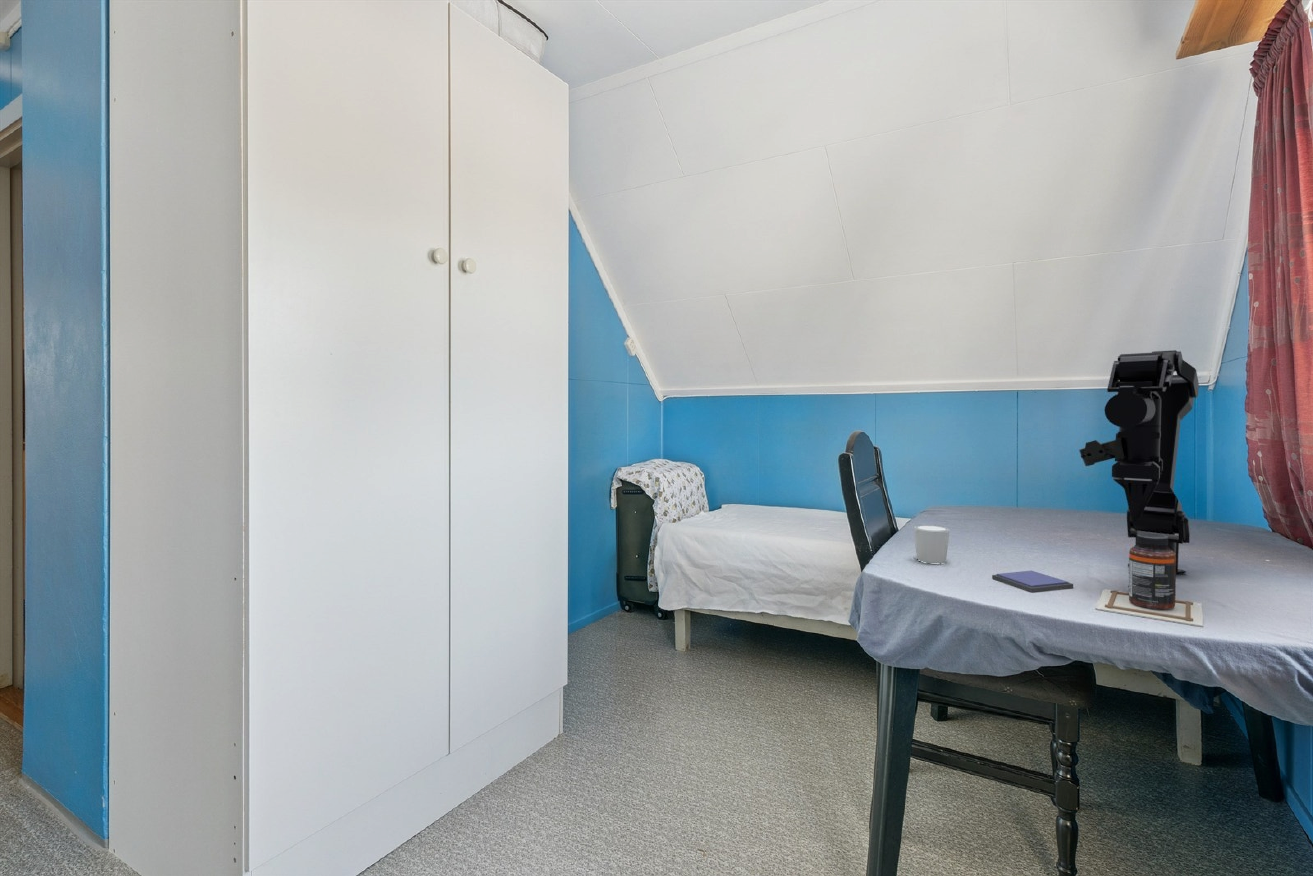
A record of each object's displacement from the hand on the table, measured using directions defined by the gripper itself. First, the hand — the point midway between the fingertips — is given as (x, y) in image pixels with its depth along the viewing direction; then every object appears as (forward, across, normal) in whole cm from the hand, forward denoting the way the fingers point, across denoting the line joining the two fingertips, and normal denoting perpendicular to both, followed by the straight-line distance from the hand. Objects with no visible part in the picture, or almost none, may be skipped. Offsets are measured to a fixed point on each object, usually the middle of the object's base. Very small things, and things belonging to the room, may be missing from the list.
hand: (1136, 515), depth 111 cm
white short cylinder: (+13, +1, -34) cm, 36 cm away
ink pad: (+13, +7, -15) cm, 21 cm away
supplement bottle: (+13, +10, +3) cm, 17 cm away
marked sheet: (+13, +10, +2) cm, 17 cm away
